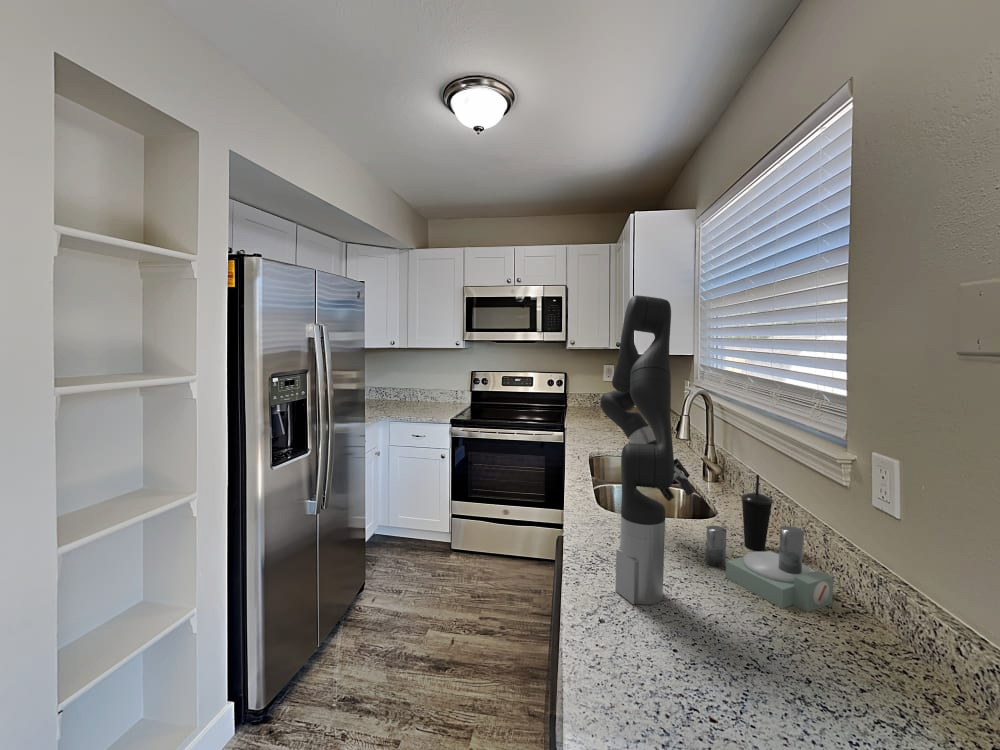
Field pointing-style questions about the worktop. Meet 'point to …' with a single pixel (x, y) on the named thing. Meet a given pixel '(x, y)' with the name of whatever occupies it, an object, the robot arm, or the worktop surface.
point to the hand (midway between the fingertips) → (681, 496)
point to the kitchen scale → (781, 581)
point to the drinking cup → (756, 518)
